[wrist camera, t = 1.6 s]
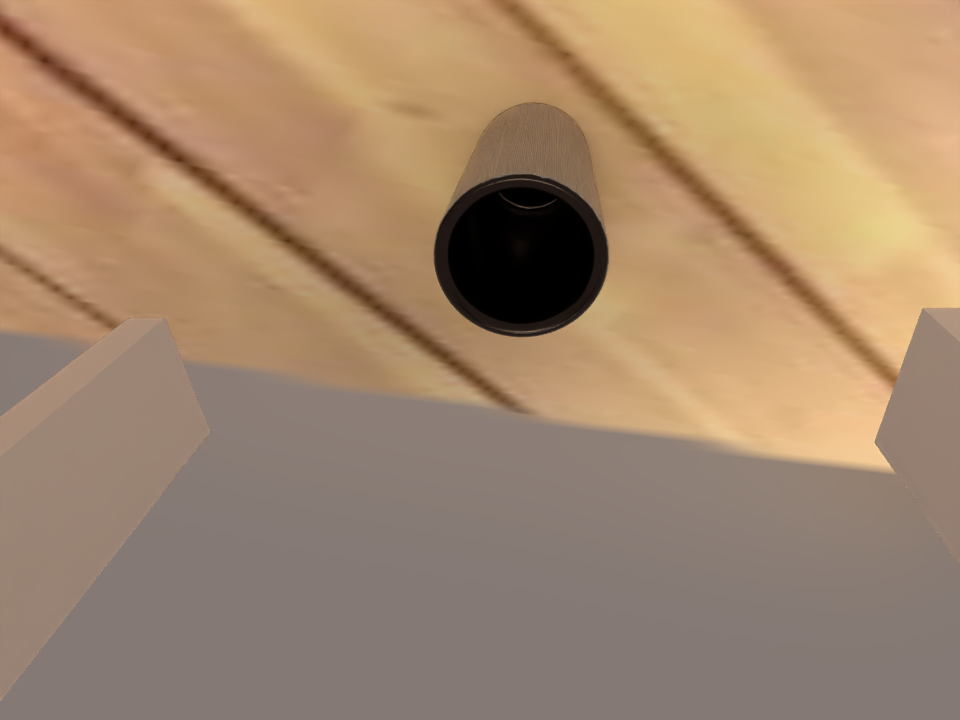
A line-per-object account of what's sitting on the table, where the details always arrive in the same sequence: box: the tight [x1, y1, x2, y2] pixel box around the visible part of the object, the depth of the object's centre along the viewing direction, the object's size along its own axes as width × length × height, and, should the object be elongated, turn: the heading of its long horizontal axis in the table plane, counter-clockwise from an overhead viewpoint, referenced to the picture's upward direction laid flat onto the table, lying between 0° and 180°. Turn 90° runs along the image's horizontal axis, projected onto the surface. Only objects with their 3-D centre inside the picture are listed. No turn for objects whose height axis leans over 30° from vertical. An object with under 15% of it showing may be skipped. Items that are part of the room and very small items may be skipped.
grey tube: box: [434, 103, 609, 337], centre depth 20 cm, size 4×4×10 cm
